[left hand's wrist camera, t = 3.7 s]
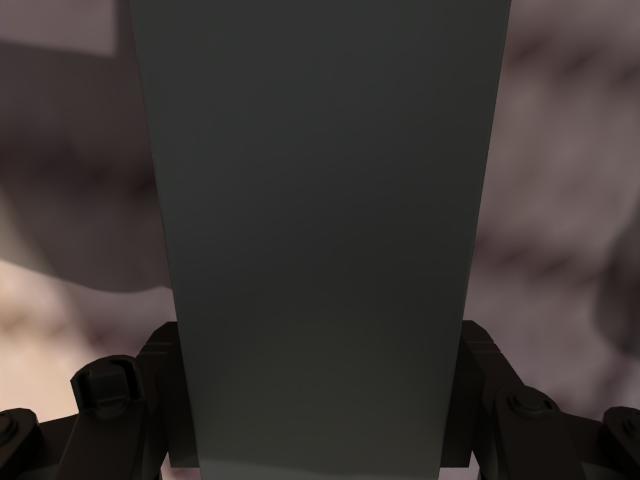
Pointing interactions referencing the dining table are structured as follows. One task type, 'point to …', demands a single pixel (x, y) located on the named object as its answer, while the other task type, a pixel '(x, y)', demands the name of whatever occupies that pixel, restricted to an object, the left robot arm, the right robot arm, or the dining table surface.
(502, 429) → the left robot arm
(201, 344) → the bar
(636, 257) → the dining table surface
